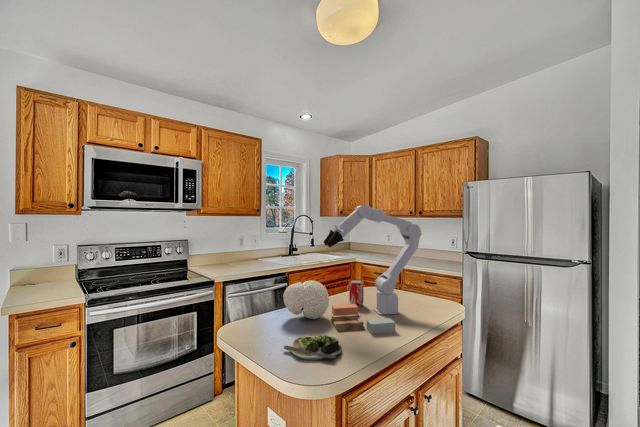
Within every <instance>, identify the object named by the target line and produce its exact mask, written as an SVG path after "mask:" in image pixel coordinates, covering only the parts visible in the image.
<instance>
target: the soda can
mask: <svg viewBox="0 0 640 427" xmlns="http://www.w3.org/2000/svg"><path fill="white" fill-rule="evenodd" d="M348 285H349V286H348V288H349V295H348V296H349V304H356V305H357V306H358V308H360V307H362V306H363V305H364V283H363V281H362V280H358V279H354V280H350V282H349V284H348Z"/></svg>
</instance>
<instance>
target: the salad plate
mask: <svg viewBox="0 0 640 427" xmlns="http://www.w3.org/2000/svg"><path fill="white" fill-rule="evenodd" d="M283 349H284V350H287V351H289V352H291V353H292V354H293V355H294V356H296V357H298V358H300V359H303V360H312V361H313V360H315V361H316V360H317V361H325V360H326V361H330V360H334V359H336V358H339V356H340V355H341V354H342V345H341V341H340V339H339V338H337V337H336V336H334V335H333V336H332V335H325V334H322V335H320V334H319V335H314V336H313V335H303V336H298V337H297V338H295V339H294V340H293V342H292V346H290V345H284V346H283Z"/></svg>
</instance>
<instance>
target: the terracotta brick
mask: <svg viewBox="0 0 640 427" xmlns="http://www.w3.org/2000/svg"><path fill="white" fill-rule="evenodd" d="M331 314H332V316H338V315H354V314H357V315H358V316H359V307H358V306H357V305H356V304H350V303H348V304H344V303H343V304H332V305H331Z"/></svg>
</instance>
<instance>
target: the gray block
mask: <svg viewBox="0 0 640 427" xmlns="http://www.w3.org/2000/svg"><path fill="white" fill-rule="evenodd" d="M365 321H366V330H367V332H368V333H369V334H371V335H376V334H377V335H378V334H379V335H380V334H389V333H390V334H391V333H396V321H394V320H393V319H392V318H391V317H388V318H373V319H366V320H365Z"/></svg>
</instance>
